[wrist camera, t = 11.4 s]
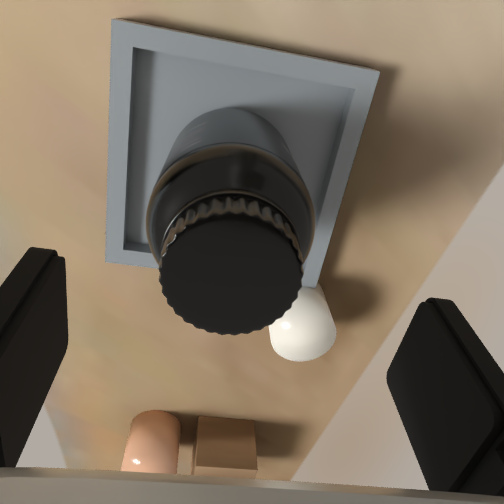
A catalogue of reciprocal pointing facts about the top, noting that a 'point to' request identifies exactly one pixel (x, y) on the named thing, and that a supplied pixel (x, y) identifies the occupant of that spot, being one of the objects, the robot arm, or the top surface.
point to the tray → (216, 97)
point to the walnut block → (224, 448)
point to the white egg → (304, 327)
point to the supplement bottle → (230, 223)
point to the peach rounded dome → (153, 443)
